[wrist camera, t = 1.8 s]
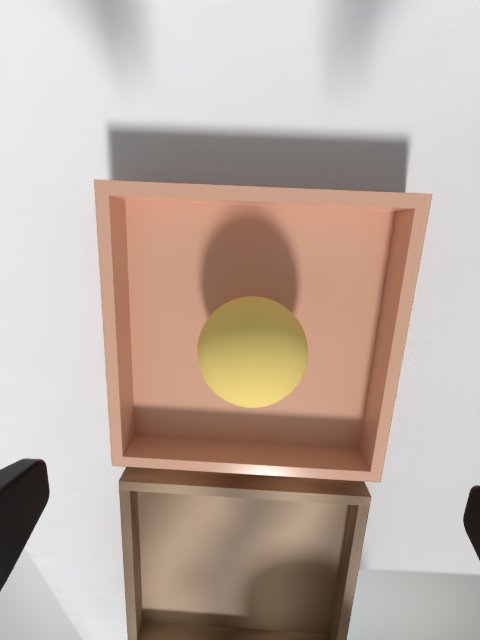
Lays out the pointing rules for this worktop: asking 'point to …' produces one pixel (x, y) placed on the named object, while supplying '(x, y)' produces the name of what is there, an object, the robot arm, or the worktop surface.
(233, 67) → the worktop surface
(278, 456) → the dish
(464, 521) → the robot arm
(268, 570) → the tray
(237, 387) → the ball
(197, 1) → the worktop surface
